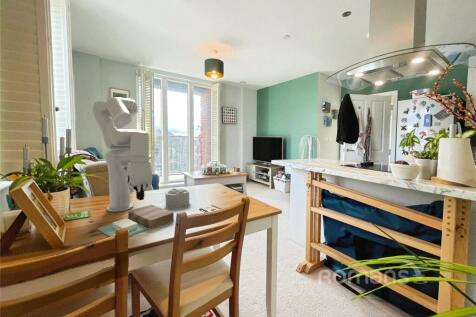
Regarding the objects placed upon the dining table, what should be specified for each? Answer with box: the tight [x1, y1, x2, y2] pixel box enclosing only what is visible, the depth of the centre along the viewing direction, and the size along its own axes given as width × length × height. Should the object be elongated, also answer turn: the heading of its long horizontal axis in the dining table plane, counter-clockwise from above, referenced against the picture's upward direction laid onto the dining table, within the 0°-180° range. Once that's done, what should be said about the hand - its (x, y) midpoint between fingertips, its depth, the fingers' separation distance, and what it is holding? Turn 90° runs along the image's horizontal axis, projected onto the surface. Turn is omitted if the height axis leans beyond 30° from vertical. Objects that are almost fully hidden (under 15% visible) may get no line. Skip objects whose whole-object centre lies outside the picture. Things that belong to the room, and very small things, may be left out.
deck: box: [127, 204, 175, 230], centre depth 101 cm, size 18×12×4 cm, turn 54°
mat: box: [97, 219, 149, 237], centre depth 91 cm, size 16×13×1 cm
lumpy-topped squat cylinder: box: [165, 187, 190, 208], centre depth 125 cm, size 10×13×9 cm
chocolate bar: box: [198, 204, 222, 213], centre depth 114 cm, size 9×1×18 cm
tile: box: [111, 218, 138, 231], centre depth 92 cm, size 9×6×2 cm, turn 54°
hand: (140, 199), depth 97 cm, fingers closed
